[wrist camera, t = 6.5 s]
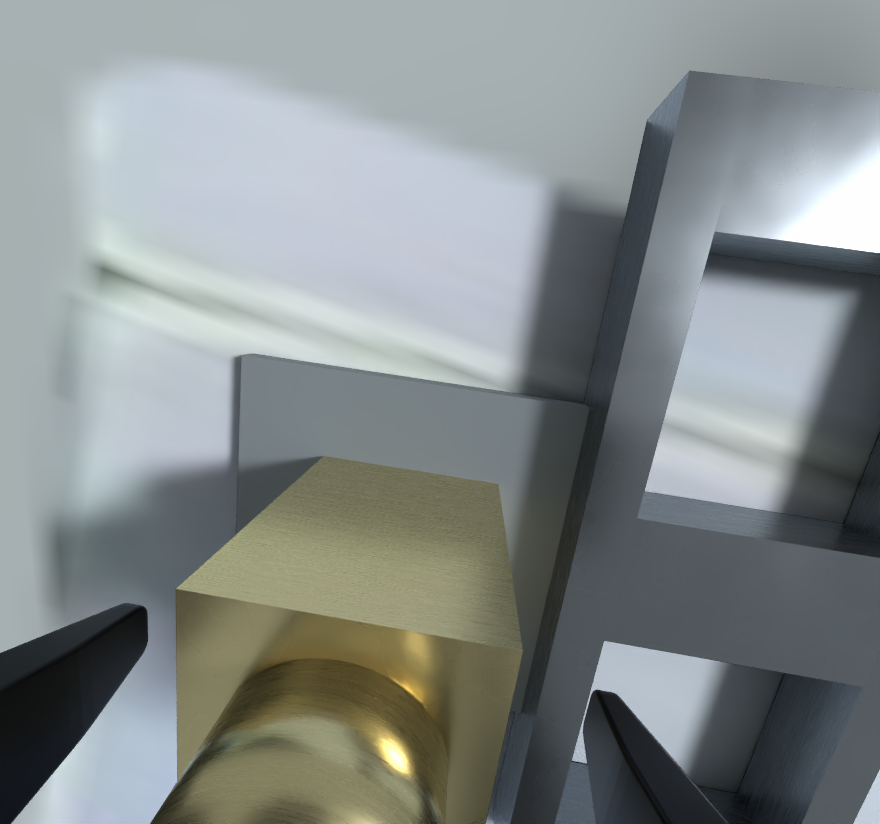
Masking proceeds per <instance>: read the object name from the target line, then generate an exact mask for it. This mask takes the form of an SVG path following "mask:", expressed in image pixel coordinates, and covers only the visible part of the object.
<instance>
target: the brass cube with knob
mask: <svg viewBox="0 0 880 824" xmlns="http://www.w3.org/2000/svg"><path fill="white" fill-rule="evenodd" d="M522 653H523V649H522V642H521V635H520V628H519V621H518V614H517V607H516V601H515V594H514V587H513V580H512V573H511V566H510V559H509V553H508V546H507V539H506V532H505V525H504V518H503V511H502V505H501V498H500V491H499V484H496V483H490V482H483V481H477V480H471V479H465V478H458V477H452V476H446V475H440V474H434V473H427V472H421V471H415V470H409V469H402V468H396V467H390V466H384V465H378V464H371V463H365V462H359V461H353V460H346V459H340V458H334V457H328V456H323V457H322V458H321V459H320V460H319V461H318V462H317V463H315V464H314V465H313V466H312V467H311V468H310V469H309V470H308V471H307V472H305V473H304V474H303V475H302V476H301V477H300V478H299V479H298V480H297V481H295V482H294V483H293V484H292V485H291V486H290V487H289V488H288V489H286V490H285V491H284V492H283V493H282V494H281V495H280V496H279V497H278V498H276V499H275V500H274V501H273V502H272V503H271V504H270V505H269V506H268V507H266V508H265V509H264V510H263V511H262V512H261V513H260V514H259V515H257V516H256V517H255V518H254V519H253V520H252V521H251V522H250V523H249V524H247V525H246V526H245V527H244V528H243V529H242V530H241V531H240V532H239V533H237V534H236V535H235V536H234V537H233V538H232V539H231V540H230V541H228V542H227V543H226V544H225V545H224V546H223V547H222V548H221V549H220V550H218V551H217V552H216V553H215V554H214V555H213V556H212V557H211V558H210V559H208V560H207V561H206V562H205V563H204V564H203V565H202V566H201V567H200V568H198V569H197V570H196V571H195V572H194V573H193V574H192V575H191V576H189V577H188V578H187V579H186V580H185V581H184V582H183V583H182V584H181V585H179V586H178V587H177V588H176V675H177V783H176V784H175V786H174V788H173V789H172V791H171V792H170V794H169V795H168V797H167V798H166V800H165V802H164V803H163V805H162V806H161V808H160V809H159V811H158V812H157V814H156V815H155V817H154V819H153V820H152V822H151V823H150V824H485V823H486V819H487V814H488V810H489V805H490V800H491V796H492V791H493V787H494V782H495V777H496V773H497V768H498V764H499V759H500V754H501V750H502V745H503V741H504V736H505V731H506V727H507V722H508V718H509V713H510V708H511V704H512V699H513V695H514V690H515V685H516V681H517V676H518V672H519V667H520V662H521V658H522Z"/></svg>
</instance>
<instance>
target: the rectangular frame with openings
mask: <svg viewBox="0 0 880 824" xmlns="http://www.w3.org/2000/svg"><path fill="white" fill-rule="evenodd" d="M709 253H711V254H718V255H726V256H734V257H741V258H749V259H756V260H764V261H772V262H779V263H787V264H794V265H802V266H810V267H817V268H825V269H832V270H840V271H848V272H855V273H863V274H870V275H878V276H880V92H877V91H868V90H858V89H850V88H841V87H831V86H822V85H813V84H805V83H796V82H787V81H777V80H769V79H760V78H750V77H741V76H732V75H723V74H714V73H705V72H696V71H689V72H688V73H687V74H686V75H685V76H684V78H683V79H682V80H681V81H680V82H679V84H678V85H677V86H676V87H675V88H674V89H673V91H672V92H671V93H670V94H669V95H668V96H667V97H666V99H665V100H664V101H663V102H662V103H661V104H660V106H659V107H658V108H657V109H656V110H655V111H654V112H653V114H652V115H651V116H650V117H649V118H648V119H647V123H646V128H645V132H644V136H643V141H642V145H641V150H640V154H639V159H638V163H637V167H636V172H635V176H634V181H633V185H632V190H631V194H630V199H629V203H628V208H627V212H626V217H625V221H624V226H623V230H622V235H621V239H620V244H619V248H618V253H617V257H616V262H615V266H614V270H613V275H612V279H611V284H610V288H609V293H608V297H607V302H606V306H605V311H604V315H603V320H602V324H601V329H600V333H599V338H598V342H597V347H596V351H595V356H594V360H593V365H592V369H591V374H590V378H589V383H588V387H587V391H586V396H585V400H584V404H585V405H586V406H587V407H589V408H590V409H589V413H588V418H587V422H586V426H585V431H584V435H583V440H582V444H581V448H580V453H579V457H578V462H577V466H576V470H575V475H574V479H573V484H572V488H571V492H570V497H569V501H568V506H567V510H566V514H565V519H564V523H563V528H562V532H561V536H560V541H559V545H558V550H557V554H556V559H555V563H554V567H553V572H552V576H551V581H550V585H549V589H548V594H547V598H546V603H545V607H544V611H543V616H542V620H541V625H540V629H539V633H538V638H537V642H536V647H535V651H534V655H533V660H532V664H531V669H530V673H529V677H528V682H527V686H526V691H525V695H524V699H523V704H522V708H521V713H519V712H515V714H514V719H513V723H512V728H511V732H510V737H509V741H508V746H507V750H506V754H505V759H504V763H503V768H502V772H501V777H500V781H499V786H498V790H497V795H496V799H495V804H494V808H493V815H494V824H596V822H595V815H594V808H593V801H592V794H591V787H590V780H589V773H588V765H585V764H580V763H575V762H571V761H572V757H573V753H574V750H575V746H576V742H577V739H578V735H579V731H580V727H581V724H582V720H583V716H584V713H585V709H586V705H587V702H588V698H589V694H590V690H591V687H592V683H593V679H594V676H595V672H596V668H597V665H598V661H599V657H600V653H601V650H602V646H603V642H604V641H609V642H615V643H620V644H626V645H632V646H637V647H643V648H648V649H654V650H659V651H665V652H671V653H676V654H682V655H687V656H693V657H699V658H704V659H710V660H715V661H721V662H727V663H732V664H738V665H743V666H749V667H755V668H760V669H766V670H771V671H777V672H783V673H785V675H784V677H783V680H782V682H781V685H780V687H779V690H778V692H777V695H776V697H775V700H774V702H773V705H772V707H771V710H770V712H769V715H768V717H767V720H766V723H765V725H764V728H763V730H762V733H761V735H760V738H759V740H758V743H757V745H756V748H755V750H754V753H753V755H752V758H751V760H750V763H749V766H748V768H747V771H746V773H745V776H744V778H743V781H742V783H741V786H740V788H739V791H738V793H737V794H735V793H730V792H725V791H720V790H714V789H709V788H704V787H699V786H697V787H698V788H699V789H700V791H701V792H702V793H703V794H704V795H705V796H706V798H707V799H708V800H709V801H710V802H711V803H712V804H713V806H714V807H715V808H716V809H717V810H718V811H719V813H720V814H721V815H722V816H723V817H724V818H725V819H726V821H727V822H728V823H729V824H853V823H854V821H855V819H856V817H857V814H858V812H859V810H860V808H861V806H862V804H863V802H864V800H865V798H866V796H867V794H868V792H869V790H870V788H871V786H872V784H873V782H874V780H875V778H876V776H877V774H878V772H879V770H880V434H879V437H878V439H877V442H876V444H875V447H874V450H873V452H872V455H871V457H870V460H869V462H868V465H867V467H866V470H865V472H864V475H863V477H862V480H861V482H860V485H859V487H858V490H857V492H856V495H855V498H854V500H853V503H852V505H851V508H850V510H849V513H848V515H847V518H846V520H845V523H838V522H831V521H825V520H819V519H813V518H806V517H800V516H794V515H788V514H781V513H775V512H769V511H763V510H757V509H750V508H744V507H738V506H732V505H725V504H719V503H713V502H707V501H700V500H694V499H688V498H682V497H676V496H669V495H663V494H657V493H651V492H644V491H645V487H646V483H647V480H648V476H649V472H650V469H651V465H652V461H653V457H654V454H655V450H656V446H657V443H658V439H659V435H660V432H661V428H662V424H663V420H664V417H665V413H666V409H667V406H668V402H669V398H670V395H671V391H672V387H673V383H674V380H675V376H676V372H677V369H678V365H679V361H680V358H681V354H682V350H683V346H684V343H685V339H686V335H687V332H688V328H689V324H690V321H691V317H692V313H693V309H694V306H695V302H696V298H697V295H698V291H699V287H700V284H701V280H702V276H703V272H704V269H705V265H706V261H707V258H708V254H709Z"/></svg>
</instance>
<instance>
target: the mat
mask: <svg viewBox="0 0 880 824" xmlns="http://www.w3.org/2000/svg"><path fill="white" fill-rule="evenodd" d="M589 409H590V408H589V407H587V406H586V405H585V404H582V403H576V402H569V401H563V400H556V399H549V398H543V397H536V396H530V395H523V394H516V393H510V392H503V391H496V390H490V389H483V388H477V387H470V386H463V385H457V384H450V383H444V382H437V381H430V380H424V379H417V378H411V377H404V376H397V375H391V374H384V373H377V372H371V371H364V370H358V369H351V368H344V367H338V366H331V365H325V364H318V363H311V362H305V361H298V360H291V359H285V358H278V357H272V356H265V355H258V354H247V355H242V358H241V390H240V423H239V456H238V488H237V521H236V534H237V533H239V532H240V531H241V530H242V529H243V528H244V527H245V526H246V525H247V524H249V523H250V522H251V521H252V520H253V519H254V518H255V517H256V516H257V515H259V514H260V513H261V512H262V511H263V510H264V509H265V508H266V507H268V506H269V505H270V504H271V503H272V502H273V501H274V500H275V499H276V498H278V497H279V496H280V495H281V494H282V493H283V492H284V491H285V490H286V489H288V488H289V487H290V486H291V485H292V484H293V483H294V482H295V481H297V480H298V479H299V478H300V477H301V476H302V475H303V474H304V473H305V472H307V471H308V470H309V469H310V468H311V467H312V466H313V465H314V464H315V463H317V462H318V461H319V460H320V459H321V458H322V457H323V456H328V457H334V458H340V459H346V460H353V461H359V462H365V463H371V464H378V465H384V466H390V467H396V468H402V469H409V470H415V471H421V472H427V473H434V474H440V475H446V476H452V477H458V478H465V479H471V480H477V481H483V482H490V483H496V484H499V491H500V498H501V505H502V511H503V518H504V525H505V532H506V539H507V546H508V553H509V559H510V566H511V573H512V580H513V587H514V594H515V601H516V607H517V614H518V621H519V628H520V635H521V642H522V649H523V653H522V658H521V662H520V667H519V672H518V676H517V681H516V685H515V690H514V695H513V699H512V704H511V708H510V711H513V712H519V713H521V708H522V704H523V699H524V695H525V691H526V686H527V682H528V677H529V673H530V669H531V664H532V660H533V655H534V651H535V647H536V642H537V638H538V633H539V629H540V625H541V620H542V616H543V611H544V607H545V603H546V598H547V594H548V589H549V585H550V581H551V576H552V572H553V567H554V563H555V559H556V554H557V550H558V545H559V541H560V536H561V532H562V528H563V523H564V519H565V514H566V510H567V506H568V501H569V497H570V492H571V488H572V484H573V479H574V475H575V470H576V466H577V462H578V457H579V453H580V448H581V444H582V440H583V435H584V431H585V426H586V422H587V418H588V413H589Z"/></svg>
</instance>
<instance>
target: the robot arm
mask: <svg viewBox="0 0 880 824" xmlns="http://www.w3.org/2000/svg"><path fill="white" fill-rule="evenodd" d="M147 642H148V617H147V610H146V608H145V607H144V606H141V605H135V604H130V603H124V604H120V605H118V606H115V607H113V608H110V609H108V610H105V611H103V612H101V613H98V614H96V615H93V616H91V617H88V618H86V619H83V620H81V621H78V622H76V623H73V624H71V625H68V626H66V627H63V628H61V629H59V630H56V631H54V632H51V633H49V634H46V635H44V636H41V637H39V638H36V639H34V640H31V641H29V642H27V643H24V644H22V645H19V646H17V647H14V648H12V649H9V650H7V651H4V652H2V653H0V824H11V823H12V822H13V821H14V820H15V818H16V817H17V816H18V815H19V814H20V812H21V811H22V810H23V809H24V808H25V806H26V805H27V804H28V803H29V801H30V800H31V799H32V798H33V797H34V795H35V794H36V793H37V792H38V791H39V789H40V788H41V787H42V786H43V785H44V783H45V782H46V781H47V780H48V779H49V777H50V776H51V775H52V774H53V773H54V771H55V770H56V769H57V768H58V767H59V765H60V764H61V763H62V762H63V761H64V759H65V758H66V757H67V756H68V755H69V753H70V752H71V751H72V750H73V749H74V747H75V746H76V745H77V744H78V742H79V741H80V740H81V739H82V737H83V736H84V735H85V733H86V732H87V731H88V729H89V728H90V727H91V725H92V724H93V723H94V721H95V720H96V719H97V717H98V716H99V714H100V713H101V712H102V710H103V709H104V707H105V706H106V705H107V703H108V702H109V700H110V699H111V698H112V696H113V695H114V693H115V692H116V691H117V689H118V688H119V686H120V685H121V684H122V682H123V681H124V679H125V678H126V677H127V675H128V674H129V672H130V671H131V670H132V668H133V667H134V665H135V664H136V663H137V661H138V660H139V658H140V657H141V656H142V654H143V652H144V650H145V648H146V646H147ZM583 737H584V744H585V751H586V758H587V765H588V773H589V780H590V787H591V794H592V801H593V808H594V815H595V822H596V824H729V823H728V822H727V821H726V819H725V818H724V817H723V816H722V815H721V814H720V813H719V811H718V810H717V809H716V808H715V807H714V806H713V804H712V803H711V802H710V801H709V800H708V799H707V798H706V796H705V795H704V794H703V793H702V792H701V791H700V789H699V788H698V787H697V786H696V785H695V784H694V783H693V781H692V780H691V779H690V778H689V777H688V776H687V774H686V773H685V772H684V771H683V770H682V769H681V767H680V766H679V765H678V764H677V763H676V762H675V761H674V759H673V758H672V757H671V756H670V755H669V754H668V752H667V751H666V750H665V749H664V748H663V747H662V746H661V744H660V743H659V742H658V741H657V740H656V739H655V737H654V736H653V735H652V734H651V733H650V732H649V731H648V729H647V728H646V727H645V726H644V725H643V724H642V722H641V721H640V720H639V719H638V718H637V717H636V715H635V714H634V713H633V712H632V711H631V710H630V709H629V707H628V706H627V705H626V704H625V703H624V702H623V700H622V699H621V698H620V697H619V696H618V695H617V694H615V693H612V692H607V691H602V690H595V691H593V693H592V695H591V698H590V702H589V706H588V709H587V713H586V717H585V720H584V726H583Z"/></svg>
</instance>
